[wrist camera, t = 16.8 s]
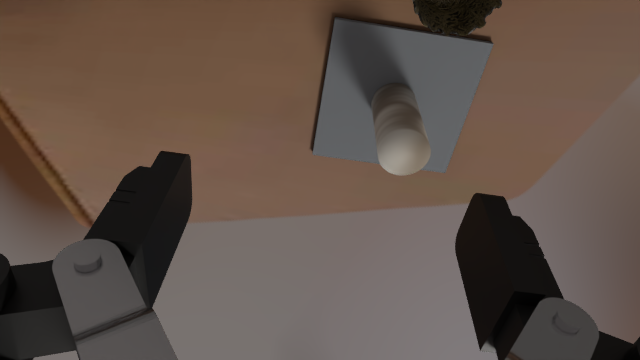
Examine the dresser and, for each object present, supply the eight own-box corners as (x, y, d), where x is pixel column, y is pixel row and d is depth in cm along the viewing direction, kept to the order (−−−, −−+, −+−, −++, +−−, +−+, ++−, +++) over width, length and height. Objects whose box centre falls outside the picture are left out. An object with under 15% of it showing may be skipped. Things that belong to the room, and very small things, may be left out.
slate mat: (312, 151, 56) (312, 154, 56) (335, 17, 47) (334, 19, 46) (444, 170, 57) (445, 172, 57) (491, 41, 48) (493, 43, 47)
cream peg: (367, 119, 53) (372, 171, 45) (376, 79, 50) (384, 127, 42) (409, 125, 53) (422, 178, 45) (421, 86, 50) (437, 135, 42)
